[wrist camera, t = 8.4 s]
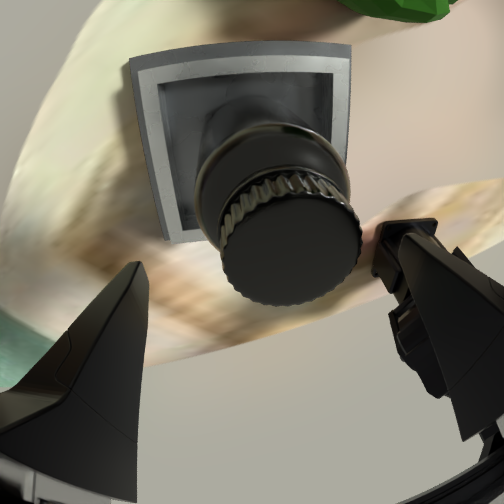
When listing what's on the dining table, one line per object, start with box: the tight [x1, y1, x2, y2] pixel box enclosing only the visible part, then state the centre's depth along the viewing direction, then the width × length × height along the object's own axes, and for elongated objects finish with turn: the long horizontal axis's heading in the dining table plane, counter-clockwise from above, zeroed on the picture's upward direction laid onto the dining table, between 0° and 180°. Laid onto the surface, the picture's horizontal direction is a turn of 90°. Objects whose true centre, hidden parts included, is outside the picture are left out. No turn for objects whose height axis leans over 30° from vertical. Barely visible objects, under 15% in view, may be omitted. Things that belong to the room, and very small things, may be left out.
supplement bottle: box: [194, 97, 363, 306], centre depth 14 cm, size 7×7×12 cm
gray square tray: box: [129, 41, 351, 244], centre depth 19 cm, size 14×14×3 cm
